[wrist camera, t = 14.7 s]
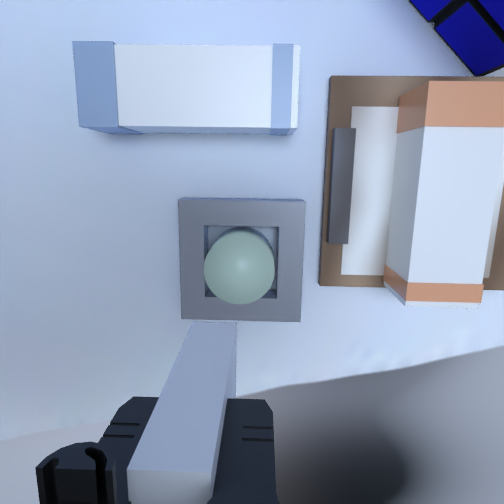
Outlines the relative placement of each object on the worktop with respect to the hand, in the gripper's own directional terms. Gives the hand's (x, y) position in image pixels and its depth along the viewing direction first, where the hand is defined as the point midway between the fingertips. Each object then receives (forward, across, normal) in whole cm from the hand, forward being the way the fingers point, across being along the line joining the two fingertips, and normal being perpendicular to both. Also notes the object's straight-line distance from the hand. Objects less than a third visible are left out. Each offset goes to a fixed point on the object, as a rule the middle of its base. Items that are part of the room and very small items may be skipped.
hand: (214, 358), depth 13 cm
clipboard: (+17, +13, +5) cm, 22 cm away
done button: (+16, 0, 0) cm, 16 cm away
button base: (+17, 0, 0) cm, 17 cm away
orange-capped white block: (+16, +13, +5) cm, 21 cm away
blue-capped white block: (+17, -3, +11) cm, 21 cm away
